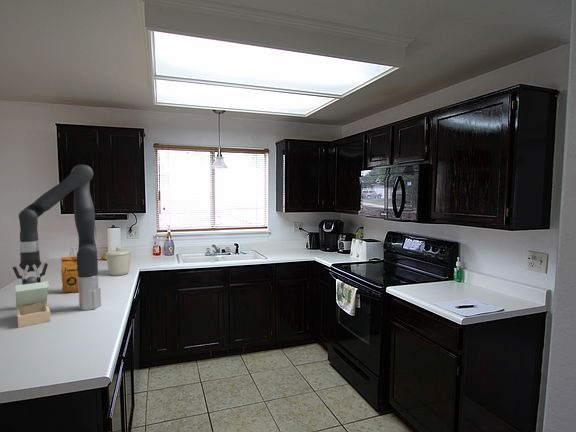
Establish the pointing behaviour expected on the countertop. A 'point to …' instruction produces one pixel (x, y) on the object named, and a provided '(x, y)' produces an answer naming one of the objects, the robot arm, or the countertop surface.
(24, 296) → the lid
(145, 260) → the countertop surface
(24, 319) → the beige wooden open box
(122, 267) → the canister
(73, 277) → the coffee package
